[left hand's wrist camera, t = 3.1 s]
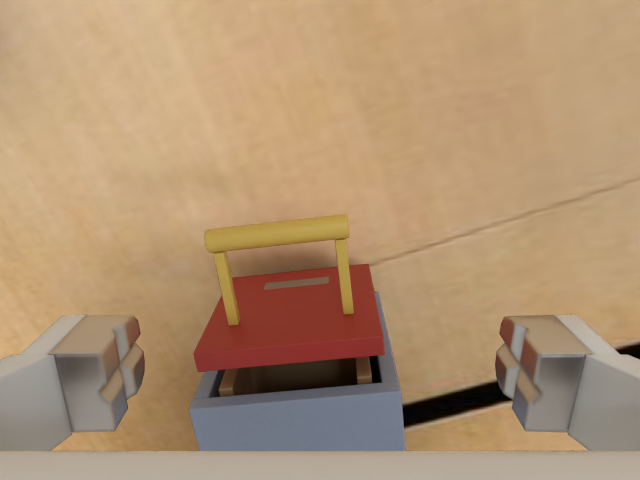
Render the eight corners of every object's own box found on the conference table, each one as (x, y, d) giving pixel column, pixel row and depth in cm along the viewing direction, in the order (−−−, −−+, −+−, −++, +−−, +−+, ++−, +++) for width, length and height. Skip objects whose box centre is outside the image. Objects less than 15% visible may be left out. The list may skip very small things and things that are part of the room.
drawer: (213, 200, 31) (166, 251, 22) (361, 183, 30) (374, 229, 21) (264, 446, 38) (244, 560, 29) (384, 436, 38) (401, 549, 29)
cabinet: (231, 306, 35) (188, 409, 24) (378, 291, 34) (401, 391, 23) (266, 473, 41) (244, 617, 30) (393, 463, 40) (417, 607, 29)
